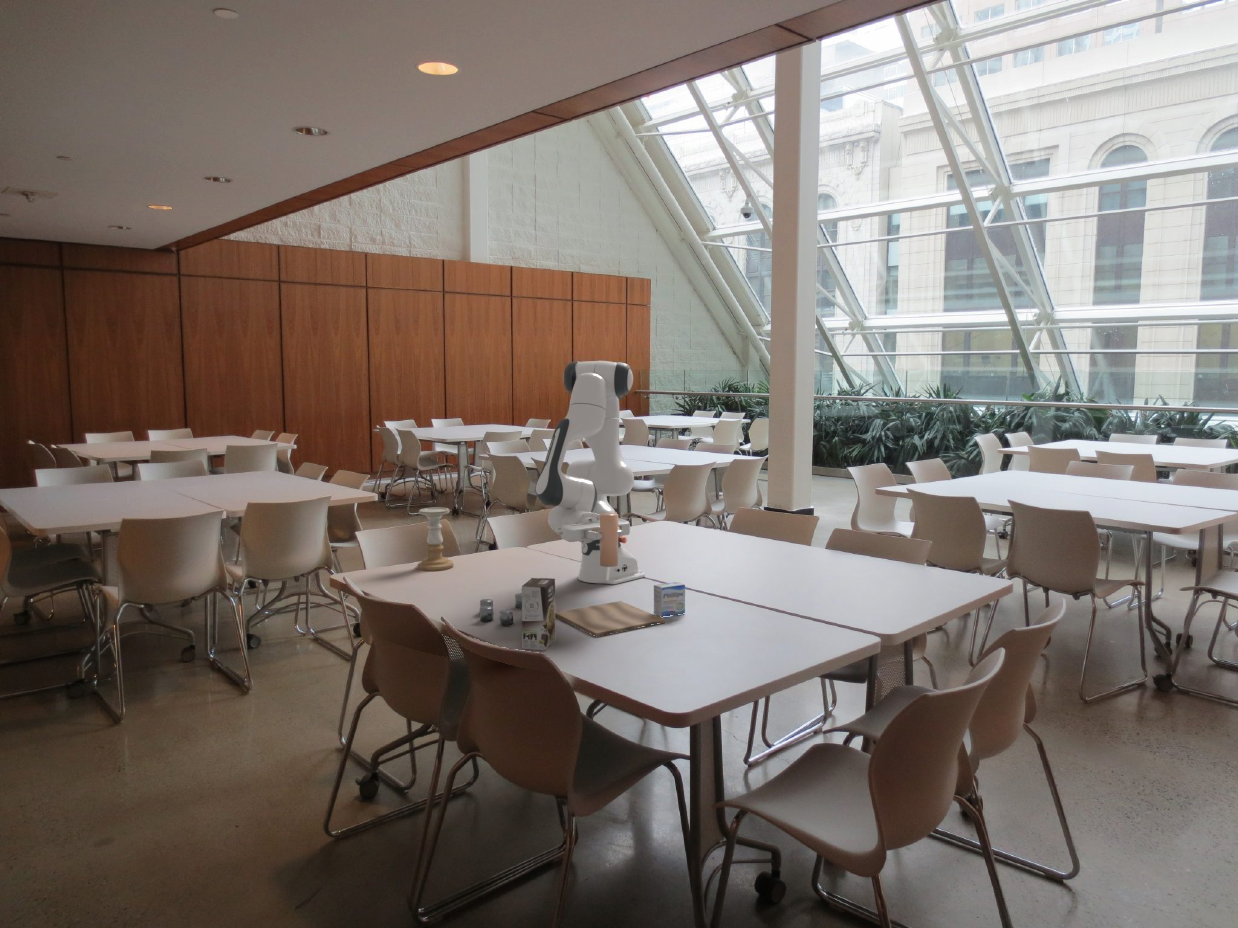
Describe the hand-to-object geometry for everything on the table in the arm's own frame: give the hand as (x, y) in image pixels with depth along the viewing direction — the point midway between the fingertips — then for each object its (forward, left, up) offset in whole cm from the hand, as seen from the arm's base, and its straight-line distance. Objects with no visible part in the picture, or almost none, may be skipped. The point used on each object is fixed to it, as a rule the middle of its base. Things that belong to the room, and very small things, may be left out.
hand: (610, 535), depth 231 cm
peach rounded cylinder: (0, -1, -8) cm, 8 cm away
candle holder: (+17, -86, -24) cm, 91 cm away
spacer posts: (+20, -19, -24) cm, 36 cm away
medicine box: (-17, +4, -24) cm, 30 cm away
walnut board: (0, -1, -24) cm, 24 cm away
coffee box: (+26, +7, -24) cm, 36 cm away
